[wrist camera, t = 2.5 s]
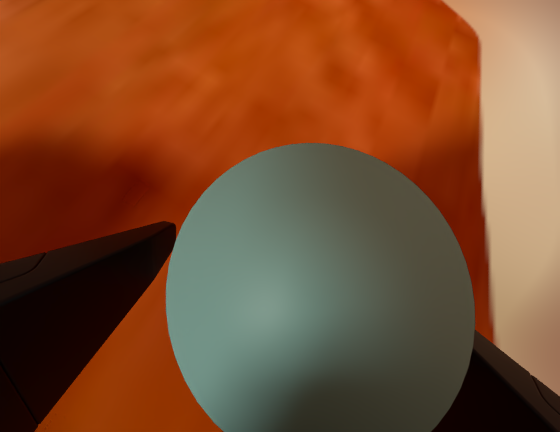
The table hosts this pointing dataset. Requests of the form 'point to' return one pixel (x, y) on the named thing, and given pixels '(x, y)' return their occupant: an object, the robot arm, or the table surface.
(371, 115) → the table surface
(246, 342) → the rod
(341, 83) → the table surface
